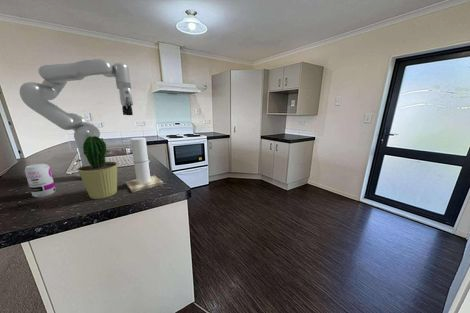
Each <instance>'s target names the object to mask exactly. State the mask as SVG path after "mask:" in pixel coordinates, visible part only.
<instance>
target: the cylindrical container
mask: <svg viewBox="0 0 470 313" xmlns="http://www.w3.org/2000/svg"><path fill="white" fill-rule="evenodd" d="M130 145H131V152H132V159H133V160H132V161H133V166H134V172H135V178H136V179H135V180H136V181H137V184H146V183H149V182H150V181H151V179H150V176H151V173H150V165H149V163H150V162H149V157H148V147H147V146H148V145H147V138H146V137H133V138H132V137H131V138H130Z"/></svg>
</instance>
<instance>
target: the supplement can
mask: <svg viewBox="0 0 470 313" xmlns="http://www.w3.org/2000/svg"><path fill="white" fill-rule="evenodd" d="M24 173H25V176H26V179H27V184H28V187H29V190H30V193H31V196H32V197H34V198H43V197H48V196H51V195H54V193H55V192H56V191H57V189H56V186H55V181H54V178H53V177H54V176H53V175H52V171H51V168H50V166H49V165H48V164H47V163H36V164H30V165H27V166H26V167H25V169H24Z"/></svg>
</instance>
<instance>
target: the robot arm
mask: <svg viewBox="0 0 470 313" xmlns="http://www.w3.org/2000/svg"><path fill="white" fill-rule="evenodd" d="M38 74H39V76H40V77H41V78H42V79H43V81H42V82H41V83H40V82H35V81H34V82H33V81H31V82H24V83H22V85H20V88H19V96H20V98H21V100H22V102H23V103H24V104H25V105H26V106H27V107H28V108H29V109H31V110H32V111H34V112H36V113H37V114H38V115H40V116H42V117H43V118H44V119H46V120H47V121H49V122H51V123H52V124H54V125H55V126H57V127H58V128H60V129H62V130H66V131H71V130H73V131H74V132H73V138H74V142H75V143H76V145H77V150H78V154H79V158H80V163H81V166H84V165H88V164H89V162H88V160H87V157H86V155H84V153H83V152H84V151H83V149H82V148H83V144H84V142H85V141H86V139H87V138H88V137H90V136H92V137H93V136H97V137H98V138H100V136H101V132H100V129H99V128H98V127H97V126H95V125H93V123H91V122H90V121H89V120H87V119H85V118H84V117H82V116H80V115H79V114H76V113H73V112H72V113H71V112H66V111H65V110H63V109H61V108H60V107H58V105H56V104H54V103H52V102H51V101H53V100H54V99H56V98H57V97H58V96H59V95H60V94H61V92H62V91H63V89H64V88H65V86H66V85H67V83H68V82H71V81H72V82H73V81H81V80H84V78H86V77H90V76H97V75H98V76H100V75H103V76H104V77H105V78H106V77H107V78H115V86H116V89H118V91H119V92H118V93H119V99H120V100H119V101H120V105H121V110H122V115H123V116H133V115H134V113H133V105H134V102H133V101H134V100H133V96H132V91H131V90H132V85H131V77H130V69H129V66H128V65H127V64H125V63H121V62H120V63H119V62H116V63H114V64H111V63H110V62H108V61H107V60H105V59H83V60H80V61H76V62H71V63H70V62H69V63H55V64H53V63H52V64H44V65H41V66H39V68H38ZM85 138H86V139H85ZM84 140H85V141H84ZM73 176H74V177H76V178H78V177H81V176H80V174H79V172H74V173H73Z"/></svg>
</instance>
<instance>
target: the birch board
mask: <svg viewBox="0 0 470 313" xmlns="http://www.w3.org/2000/svg"><path fill="white" fill-rule="evenodd" d="M150 179H151V181H150V182H149V183H146V184H137V181H136V179H132V180H129V181H125V185H126V187H127V188H128V189H129V190H130V192H131V193H136V192H138V191H142V190H146V189H151V188H153V187H157V186H161V185H164V181H162V180H161V179H160V178H158V176H156V175H155V174H153V175H150Z"/></svg>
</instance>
